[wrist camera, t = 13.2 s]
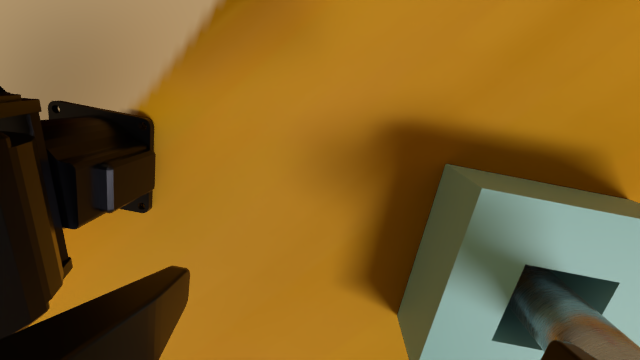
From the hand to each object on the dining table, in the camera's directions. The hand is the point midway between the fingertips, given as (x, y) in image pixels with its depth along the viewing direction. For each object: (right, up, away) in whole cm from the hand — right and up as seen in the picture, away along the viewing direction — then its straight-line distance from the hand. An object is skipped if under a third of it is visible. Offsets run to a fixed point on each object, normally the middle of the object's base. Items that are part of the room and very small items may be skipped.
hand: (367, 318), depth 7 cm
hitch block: (+12, -2, +14) cm, 18 cm away
